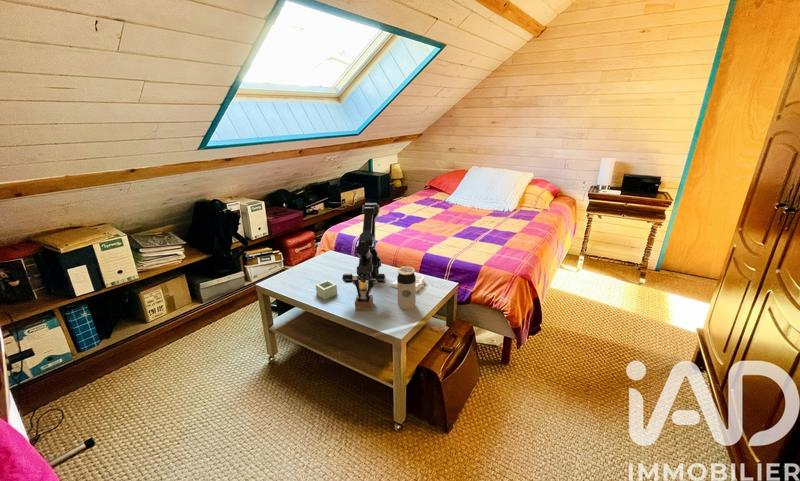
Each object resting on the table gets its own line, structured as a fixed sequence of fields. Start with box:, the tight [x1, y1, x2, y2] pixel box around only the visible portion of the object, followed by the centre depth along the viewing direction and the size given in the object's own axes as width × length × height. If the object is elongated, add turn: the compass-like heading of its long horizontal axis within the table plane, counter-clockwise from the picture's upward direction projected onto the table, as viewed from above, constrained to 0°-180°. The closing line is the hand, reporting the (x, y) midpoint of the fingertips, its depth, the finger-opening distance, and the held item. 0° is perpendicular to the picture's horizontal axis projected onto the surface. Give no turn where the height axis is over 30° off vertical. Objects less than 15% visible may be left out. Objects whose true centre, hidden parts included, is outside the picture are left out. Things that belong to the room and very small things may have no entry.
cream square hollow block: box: [315, 279, 338, 300], centre depth 172 cm, size 7×7×6 cm
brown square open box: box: [354, 294, 374, 312], centre depth 161 cm, size 7×7×5 cm
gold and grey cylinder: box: [359, 280, 368, 302], centre depth 159 cm, size 3×3×12 cm
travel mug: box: [396, 266, 417, 310], centre depth 159 cm, size 8×8×18 cm
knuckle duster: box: [389, 274, 425, 293], centre depth 179 cm, size 3×18×15 cm
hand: (363, 297), depth 158 cm, fingers closed on gold and grey cylinder, 3 cm apart
